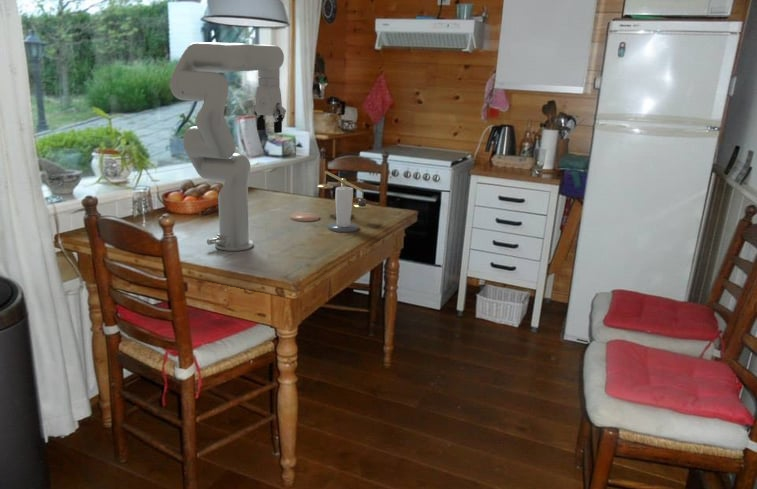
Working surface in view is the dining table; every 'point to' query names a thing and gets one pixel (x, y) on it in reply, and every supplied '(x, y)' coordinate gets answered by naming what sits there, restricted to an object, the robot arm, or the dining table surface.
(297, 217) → the pink dome
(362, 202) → the balance
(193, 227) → the dining table surface
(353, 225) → the dish slate
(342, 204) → the drinking glass
